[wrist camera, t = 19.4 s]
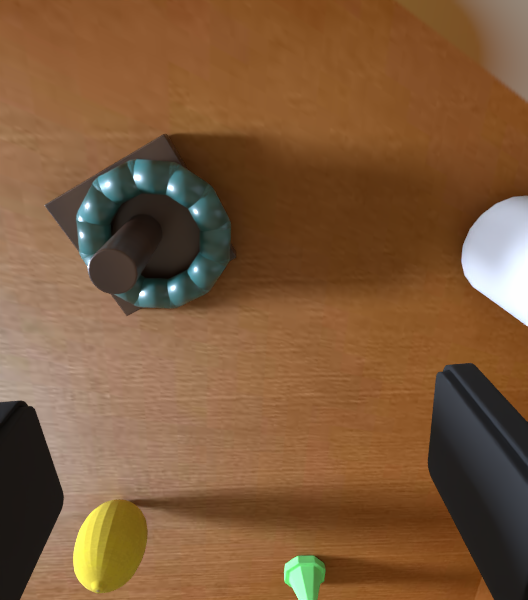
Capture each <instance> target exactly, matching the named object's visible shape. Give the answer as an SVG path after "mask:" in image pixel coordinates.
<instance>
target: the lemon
mask: <svg viewBox="0 0 528 600" xmlns="http://www.w3.org/2000/svg"><path fill="white" fill-rule="evenodd" d="M146 542H147V524H146V520H145V517H144V515H143V513H142V511H141V510H140V509H139V508H138V507H137V506H136V505H135V504H133V503H131V502H129V501H126V500H112V501H108V502H106V503H103V504H101V505H100V506H99V507H97V508H96V509H95V510H93V511H92V512H91V513H90V515H89V516H88V517H87V519H86V520H85V522H84V523H83V525H82V527H81V529H80V531H79V534H78V537H77V540H76V544H75V549H74V570H75V574H76V576H77V578H78V580H79V581H80V582H81V584H82V585H83V586H84V587H86V588H87V589H89V590H90V591H93V592H95V593H106V592H111V591H114V590H116V589H118V588H120V587H121V586H123V585H124V584H125V583H127V582H128V581H129V580H130V579H131V578H132V576H133V575H134V573H135V571H136V570H137V568H138V566H139V564H140V562H141V560H142V558H143V555H144V552H145V548H146Z"/></svg>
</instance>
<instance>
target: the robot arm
mask: <svg viewBox="0 0 528 600" xmlns="http://www.w3.org/2000/svg"><path fill="white" fill-rule="evenodd" d="M428 468H429V472H430V476H431V478H432V480H433V482H434V484H435V486H436V488H437V490H438V492H439V494H440V495H441V497H442V499H443V501H444V503H445V505H446V507H447V509H448V511H449V513H450V515H451V517H452V519H453V521H454V523H455V525H456V527H457V529H458V530H459V532H460V534H461V536H462V538H463V540H464V542H465V544H466V546H467V548H468V550H469V552H470V554H471V556H472V558H473V560H474V562H475V563H476V565H477V567H478V569H479V571H480V573H481V575H482V577H483V579H484V581H485V583H486V585H487V587H488V589H489V591H490V593H491V595H492V596H493V598H494V600H528V422H527V421H526V420H525V419H524V418H523V417H522V416H521V415H520V414H519V413H518V411H517V410H516V409H515V408H514V407H513V406H512V405H511V404H510V403H509V402H508V401H507V400H506V398H505V397H504V396H503V395H502V394H501V393H500V392H499V391H498V390H497V389H496V388H495V386H494V385H493V384H492V383H491V382H490V381H489V380H488V379H487V378H486V377H485V376H484V375H483V373H482V372H481V371H480V370H479V369H478V368H477V367H476V366H475V365H474V364H472V363H466V364H454V365H446V366H445V368H444V370H443V372H438V373H437V376H436V384H435V394H434V404H433V414H432V424H431V434H430V444H429V454H428ZM63 500H64V496H63V491H62V488H61V485H60V482H59V479H58V476H57V473H56V470H55V467H54V464H53V461H52V458H51V455H50V452H49V449H48V446H47V443H46V440H45V437H44V434H43V431H42V429H41V426H40V423H39V420H38V417H37V414H36V411H35V409H34V408H33V407H31V406H28V405H27V404H26V403H25V402H24V401H10V402H0V600H20V598H21V596H22V594H23V592H24V589H25V587H26V585H27V583H28V581H29V579H30V577H31V574H32V572H33V570H34V568H35V566H36V564H37V561H38V559H39V557H40V555H41V553H42V551H43V548H44V546H45V544H46V542H47V540H48V538H49V535H50V533H51V531H52V529H53V527H54V525H55V523H56V520H57V518H58V516H59V514H60V512H61V509H62V506H63Z"/></svg>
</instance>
